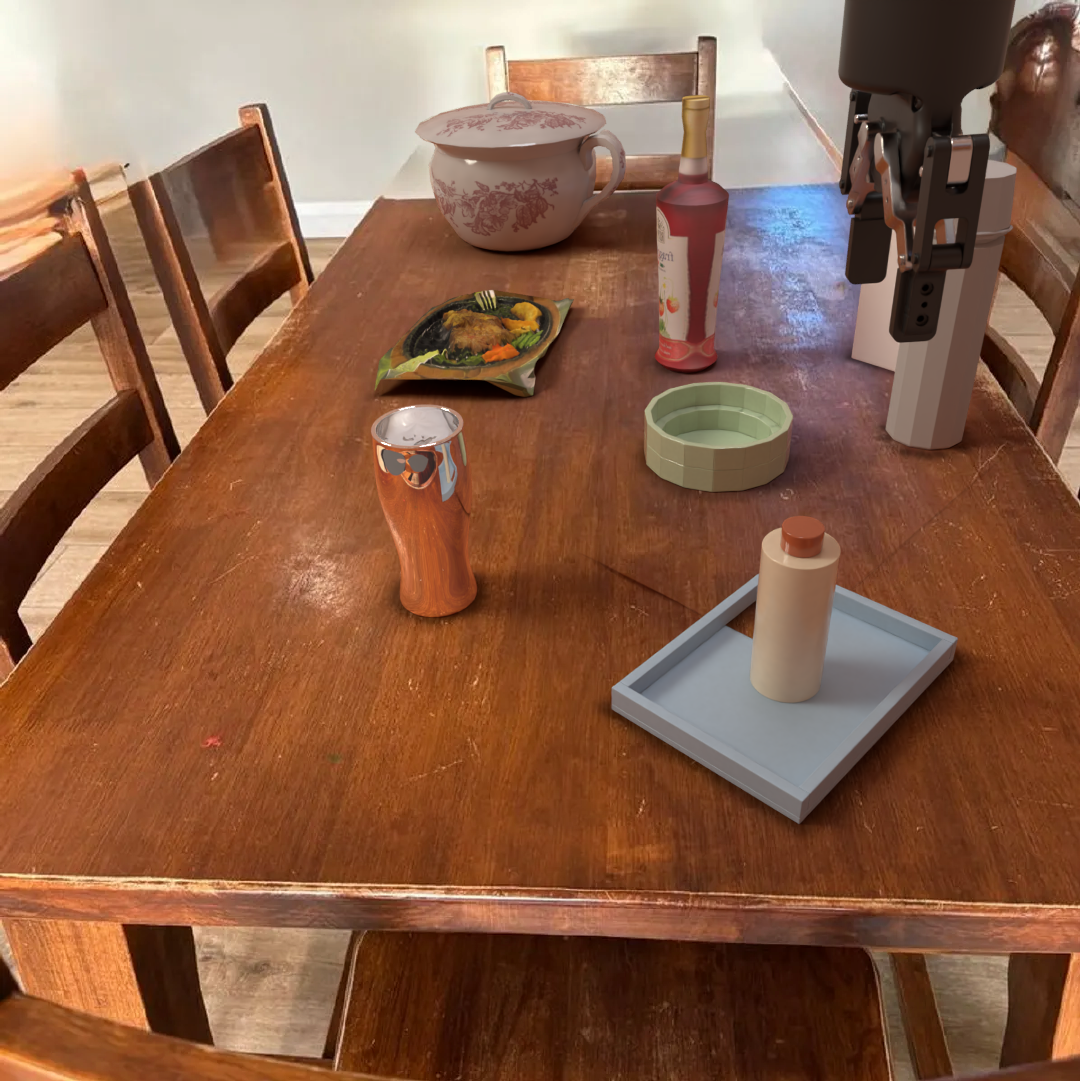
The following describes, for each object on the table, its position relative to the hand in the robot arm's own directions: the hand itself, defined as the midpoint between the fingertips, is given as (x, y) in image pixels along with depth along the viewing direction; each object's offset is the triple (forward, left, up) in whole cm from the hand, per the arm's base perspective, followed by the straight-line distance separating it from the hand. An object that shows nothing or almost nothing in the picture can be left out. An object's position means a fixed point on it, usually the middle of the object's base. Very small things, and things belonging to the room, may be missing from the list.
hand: (886, 308), depth 55 cm
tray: (+3, -2, -26) cm, 27 cm away
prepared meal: (-23, -61, -27) cm, 70 cm away
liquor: (-34, -39, -27) cm, 58 cm away
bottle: (+3, -2, -26) cm, 26 cm away
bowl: (-19, -24, -26) cm, 40 cm away
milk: (-50, -23, -27) cm, 61 cm away
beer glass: (+12, -28, -27) cm, 40 cm away
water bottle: (-36, -12, -27) cm, 46 cm away
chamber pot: (-55, -87, -27) cm, 106 cm away
